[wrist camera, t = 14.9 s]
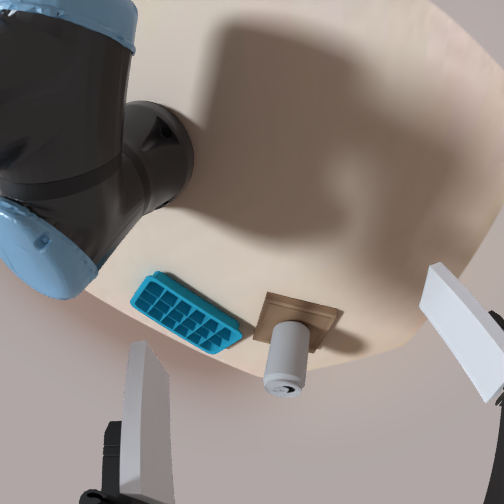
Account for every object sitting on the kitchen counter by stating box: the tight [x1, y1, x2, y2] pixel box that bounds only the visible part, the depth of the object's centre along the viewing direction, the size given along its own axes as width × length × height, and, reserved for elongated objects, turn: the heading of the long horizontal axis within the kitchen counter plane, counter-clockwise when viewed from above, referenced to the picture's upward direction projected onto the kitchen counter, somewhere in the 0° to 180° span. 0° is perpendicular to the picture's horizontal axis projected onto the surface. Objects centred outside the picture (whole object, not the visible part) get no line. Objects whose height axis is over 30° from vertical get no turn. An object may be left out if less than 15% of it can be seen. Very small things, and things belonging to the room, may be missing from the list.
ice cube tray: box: [130, 271, 243, 354], centre depth 54 cm, size 12×20×3 cm, turn 53°
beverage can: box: [263, 321, 310, 398], centre depth 46 cm, size 6×6×12 cm
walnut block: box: [253, 292, 337, 353], centre depth 51 cm, size 12×12×2 cm
